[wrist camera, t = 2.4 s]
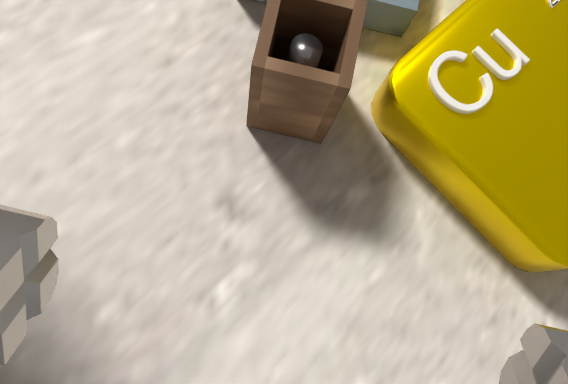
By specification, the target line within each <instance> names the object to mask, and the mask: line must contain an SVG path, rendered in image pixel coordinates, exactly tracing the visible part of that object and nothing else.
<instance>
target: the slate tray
mask: <svg viewBox="0 0 568 384" xmlns="http://www.w3.org/2000/svg"><path fill="white" fill-rule="evenodd" d="M255 1H259V2H263V3H267V1H268V0H255ZM364 1H368V2H367V7H366V12H365V17H364V22H363V27H364V28H368V29H372V30H376V31H380V32H384V33H388V34H392V35H396V36H400V37H402V35H403V33H404V32H405V30H406V29H407V27H408V25H409V24H410V22H411V21H412V19H413V17H414V16H415V14H416V13H417V11H418V5H419V0H364Z"/></svg>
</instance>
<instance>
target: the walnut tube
mask: <svg viewBox="0 0 568 384" xmlns="http://www.w3.org/2000/svg"><path fill="white" fill-rule="evenodd" d="M367 2H368V1H364V0H268V1H267V5H266V9H265V13H264V17H263V21H262V25H261V29H260V33H259V37H258V41H257V45H256V49H255V53H254V57H253V61H252V65H251V77H250V89H249V101H248V113H247V125H246V126H250V127H254V128H258V129H262V130H267V131H271V132H275V133H279V134H283V135H288V136H292V137H296V138H300V139H305V140H309V141H313V142H317V143H321V142H322V141H323V139H324V137H325V135H326V133H327V131H328V129H329V128H330V126H331V124H332V122H333V120H334V118H335V116H336V115H337V113H338V111H339V109H340V107H341V105H342V103H343V102H344V100H345V98H346V96H347V94H348V92H349V90H350V88H351V83H352V78H353V73H354V68H355V63H356V58H357V53H358V47H359V42H360V37H361V32H362V27H363V22H364V17H365V12H366V7H367ZM303 33H308V34H312V35H314V36H316V37H317V38H318V39H319V40H320V42H321V44H322V47H323V51H322V55H321V58H320V60H319V63H318V66H317V68H313V67H309V66H305V65H301V64H297V63H293V62H289V61H287V58H288V54H289V50H290V45H291V42H292V40H293V39H294V38H295V37H296V36H297V35H299V34H303Z"/></svg>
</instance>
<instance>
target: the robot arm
mask: <svg viewBox="0 0 568 384" xmlns="http://www.w3.org/2000/svg"><path fill="white" fill-rule="evenodd" d="M57 238H58V235H57V222H56V221H55V220H54V219H53V218H52V217H49V216H45V215H41V214H37V213H32V212H28V211H24V210H20V209H16V208H12V207H8V206H4V205H0V365H5V364H6V363H7V361H8V360H9V359H10V357H11V356H12V354H13V353H14V351H15V350H16V349H17V347H18V346H19V344H20V343H21V341H22V340H23V339H24V337H25V336H26V334H27V321H26V320H28V319H30V318H32V317H34V316H36V315H38V314H40V313H41V312H42V311H43V309H44V308H45V306H46V305H47V303H48V302H49V300H50V298H51V295H52V293H53V290H54V288H55V285H56V281H57V275H58V258H57V257H56V256H55V254H54V253H53V252H52V250H51V249H50V248H51V246H52V245H53V244H54V242H55V241H56V240H57ZM520 341H521V344H522V348H523V350H522V351H520V352H518V353H516V354H514V355H512V356H510V357H509V358H508V360H507V361H506V363H505V365H504V367H503V369H502V370H501V375H500V381H499V384H568V331H567V330H562V329H557V328H553V327H548V326H543V325H539V324H534V325H532V326H531V327H529V328H528V329H527V330H526V331H525V333H524V334H523V336H522V337H521V339H520Z"/></svg>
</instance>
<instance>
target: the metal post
mask: <svg viewBox="0 0 568 384" xmlns="http://www.w3.org/2000/svg"><path fill="white" fill-rule="evenodd" d="M322 51H323V47H322V44H321V42H320V40H319V39H318V38H317V37H316V36H314V35H312V34H308V33H303V34H299V35H297V36H296V37H295V38H294V39H293V40H292V42H291V45H290V50H289V54H288V58H287V61H289V62H293V63H297V64H301V65H305V66H309V67H313V68H317V66H318V63H319V60H320V58H321V55H322Z"/></svg>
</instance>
